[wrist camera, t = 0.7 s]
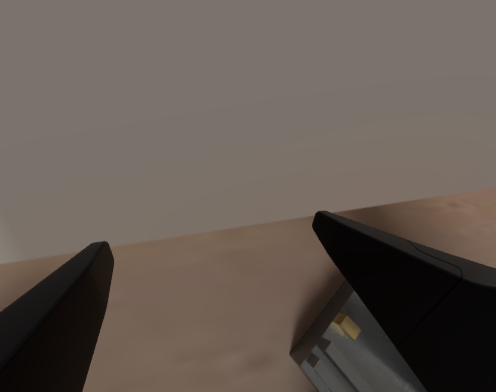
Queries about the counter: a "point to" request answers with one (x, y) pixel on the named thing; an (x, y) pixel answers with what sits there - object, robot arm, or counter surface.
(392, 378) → the heat sink
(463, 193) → the counter surface
